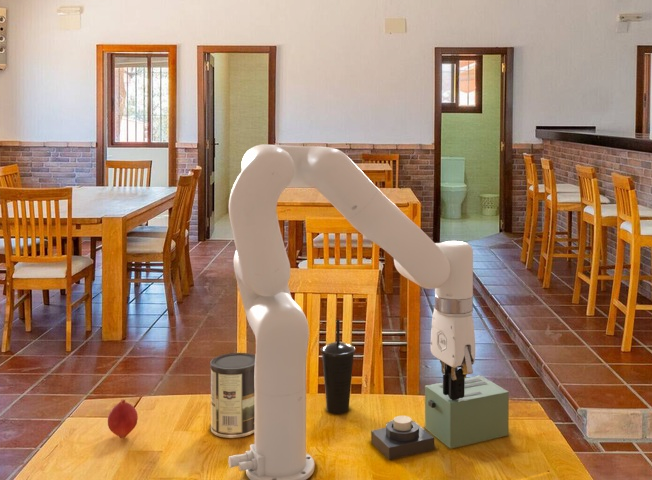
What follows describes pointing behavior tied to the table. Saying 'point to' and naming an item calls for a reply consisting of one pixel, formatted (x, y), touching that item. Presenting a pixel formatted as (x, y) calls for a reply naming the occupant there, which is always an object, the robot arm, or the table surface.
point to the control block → (402, 441)
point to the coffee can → (232, 395)
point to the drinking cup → (337, 373)
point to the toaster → (467, 413)
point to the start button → (402, 423)
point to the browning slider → (448, 381)
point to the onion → (122, 419)
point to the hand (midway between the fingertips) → (453, 395)
